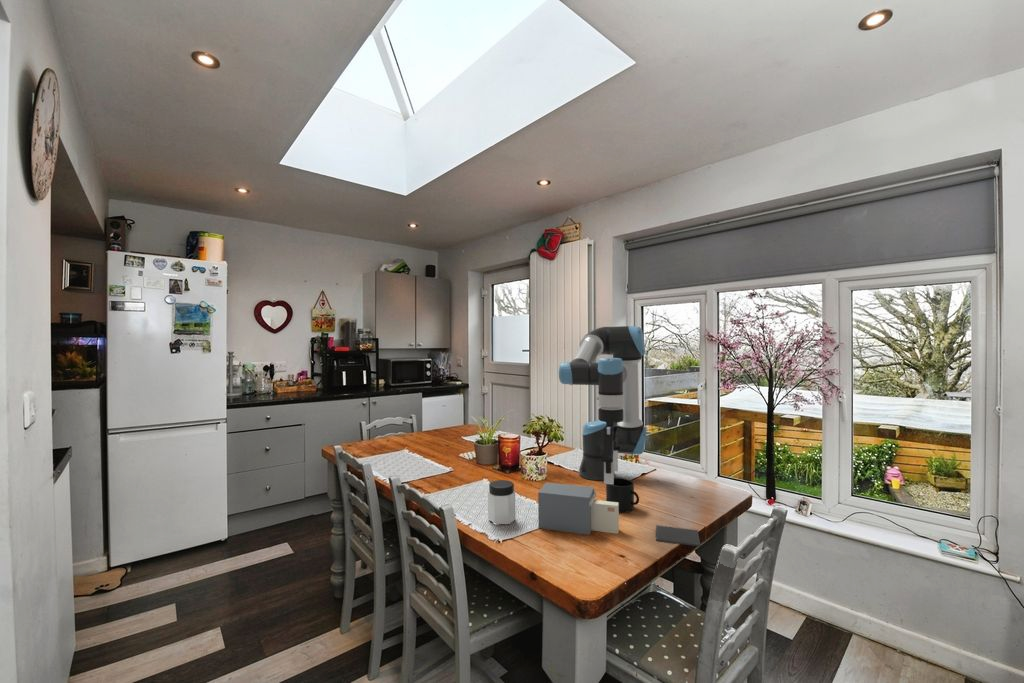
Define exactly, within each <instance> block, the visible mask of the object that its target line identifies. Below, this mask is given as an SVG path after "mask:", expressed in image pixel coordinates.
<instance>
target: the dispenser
mask: <svg viewBox="0 0 1024 683" xmlns="http://www.w3.org/2000/svg"><path fill="white" fill-rule="evenodd" d="M537 494H538V496H537V497H538V503H537V504H538V505H537V506H538V511H537V512H538V517H537V518H538V529H544V530H552V531H558V532H559V531H560V532H563V533H565V532H566V533H572V534H578V535H579V534H580V535H587V536H588V535H591V532H592V530H591V506H592V503H593V501H594V500H595V498H596V496H597V491H596V490H595V487H594V486H585V485H577V484H576V485H575V484H566V483H565V484H564V483H555V482H545V483H544V485H543V486H542V487H541V488H540V489H539V491H538V492H537Z"/></svg>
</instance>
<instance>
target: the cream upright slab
mask: <svg viewBox="0 0 1024 683" xmlns="http://www.w3.org/2000/svg"><path fill="white" fill-rule="evenodd" d="M619 513H620V512H619V503H618V502H609V501H606V500H600V499H594V501H593V503H592V506H591V531H593V532H595V531H596V532H602V533H611V534H617V535H618V534H619V531H620V522H619V521H620V518H619V517H620V514H619Z"/></svg>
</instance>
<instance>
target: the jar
mask: <svg viewBox="0 0 1024 683" xmlns="http://www.w3.org/2000/svg"><path fill="white" fill-rule="evenodd" d="M488 488H489V490H488V491H487V512H488V513H487V520H488V519H490V520H491V521H492V522H493V523H496V524H509V525H511V524H512V523H513V522H515V521H516V491H515V483H514V482H513V481H511V480H508V479H507V480H506V479H497V480H494V481H490V483H489V487H488ZM514 520H515V521H514ZM512 521H513V522H512ZM511 522H512V523H511ZM493 523H492V524H493ZM510 523H511V524H510Z"/></svg>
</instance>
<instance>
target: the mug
mask: <svg viewBox="0 0 1024 683" xmlns="http://www.w3.org/2000/svg"><path fill="white" fill-rule="evenodd" d="M605 488H606V489H605V490H606V492H605V493H606V494H605V495H606V496H605V499H606V500H605V501H609V502H618V503H619V513H631V512H632V511H634V510H635V505H636V506H637V505H638V504H639V502H640V496H639V494H638V493H637V492H636V491H635V484H634V481H632V480H631V479H628V478H625V477H614V484H605ZM635 498H636V499H635Z"/></svg>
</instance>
